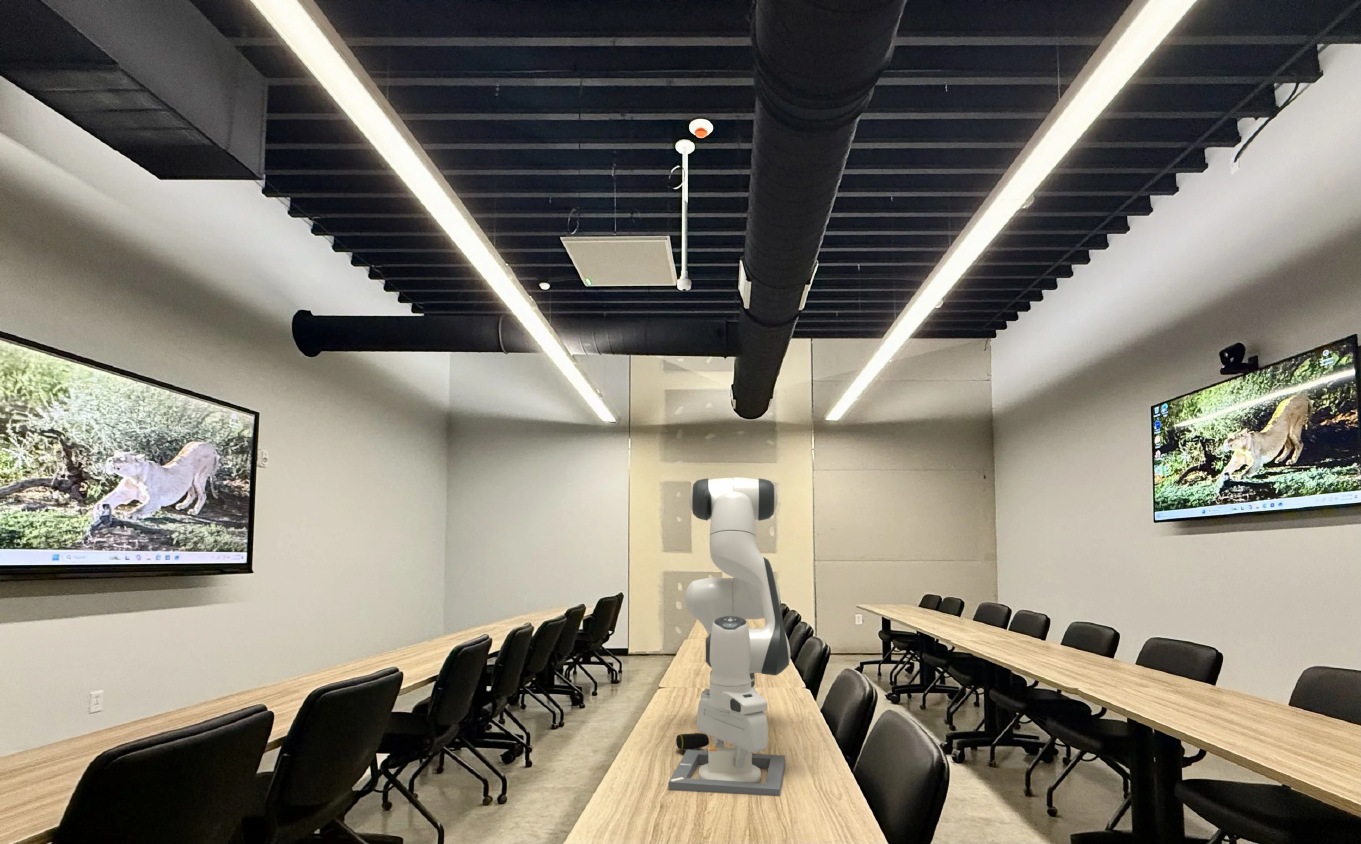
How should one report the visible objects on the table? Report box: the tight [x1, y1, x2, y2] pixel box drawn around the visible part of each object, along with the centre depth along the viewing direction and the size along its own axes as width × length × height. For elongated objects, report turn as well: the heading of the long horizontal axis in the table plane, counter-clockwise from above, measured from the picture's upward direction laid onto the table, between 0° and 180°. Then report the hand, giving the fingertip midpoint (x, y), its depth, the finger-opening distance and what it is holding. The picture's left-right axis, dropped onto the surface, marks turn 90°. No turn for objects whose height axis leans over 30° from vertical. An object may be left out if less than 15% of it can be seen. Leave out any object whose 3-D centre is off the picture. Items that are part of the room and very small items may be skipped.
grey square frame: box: [667, 749, 786, 797], centre depth 173 cm, size 22×22×3 cm
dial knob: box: [698, 745, 762, 783], centre depth 173 cm, size 13×13×6 cm
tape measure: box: [675, 732, 710, 752], centre depth 193 cm, size 7×7×4 cm
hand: (730, 763), depth 173 cm, fingers closed on dial knob, 4 cm apart
